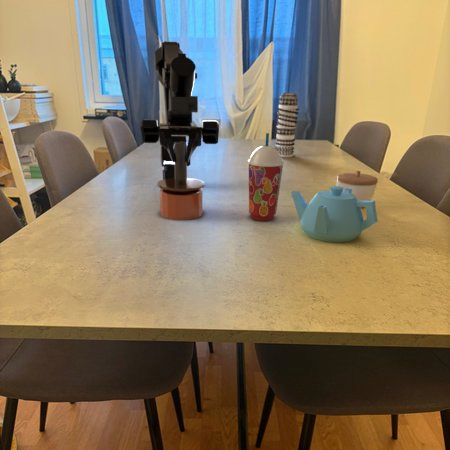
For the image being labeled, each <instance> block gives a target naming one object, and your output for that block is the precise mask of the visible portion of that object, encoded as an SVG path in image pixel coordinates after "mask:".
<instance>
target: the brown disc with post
mask: <svg viewBox="0 0 450 450" xmlns="http://www.w3.org/2000/svg"><path fill="white" fill-rule="evenodd" d="M186 154H187V147H186V142H174V169H175V178H169V179H163V178H162V179H160V180H159V181H157V183H156V185H157V187H158V188H159V189H165V190H170V191H177V192H186V191H193V190H198V189H203V188H204V187H205V182H204V181H203V180H201V179H197V178H192V177H188V166H187V162H186Z"/></svg>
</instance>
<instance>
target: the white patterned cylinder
mask: <svg viewBox="0 0 450 450" xmlns="http://www.w3.org/2000/svg"><path fill="white" fill-rule="evenodd" d="M298 100H299V97H298V96H297V93H295V92H294V93H293V92H282V93H281V94H280V96H279V104H278V108H277V112H276V115H277V116H276V119H277V120H276V128H277V131H276V136H275V137H276V138H275V142H274V144H275V146H274V148H275V149H276V150H277V151H278V152H279V154H280V156H281V158H292V157H294V154H295V151H294V150H295V141H296V139H295V137H296V134H295V133H296V132H295V130H296V128H297V126H296V124H297V123H298V121H297V120H298V118H299V117H297V115H299V110H300V109H299V107H298Z"/></svg>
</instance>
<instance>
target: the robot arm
mask: <svg viewBox="0 0 450 450" xmlns="http://www.w3.org/2000/svg"><path fill="white" fill-rule="evenodd" d="M153 59H154V60H153V61H154V63H153V64H154V71H155V72H156V74H157V76H156V77H157V80H158V81H159V82H160V84H161V86H162V87H163V101H164V113H165V123H159V122H158V119H152V118H151V119H148V118H147V119H145V118H143V119H142V120H141V121H140V133H141V138H142V142H143V143H145V144H156V143H158V142H159V145H160V165H161V167H163V169H162V170H161V171H162V180H163V179H169V178H175V169H174V142H186V147H187V154H186V162H187V167H189V166H191V157H192V155H193V153H194V152H195V150H196V149H197V148H198V147H201V146H202V143H204V144H205V145H217V144H218V143H219V135H220V123H219V122H218V121H217V120H202V126H197V125H193V113H198V112H199V97H198V95H193V92H192V91H193V89H194V85H195V82H196V80H197V79H198V73H197V72H196V67H197V66H196V63H195V62H194V61H193V59H191V58H189V57H187V54H186V53H184V52H183V51H182V50H181V48H180V42H177V41H166V40H165V41H161V45H160V47H159V48H157V49H156V50H155V51H154V57H153ZM187 137H188V140H187Z"/></svg>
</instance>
